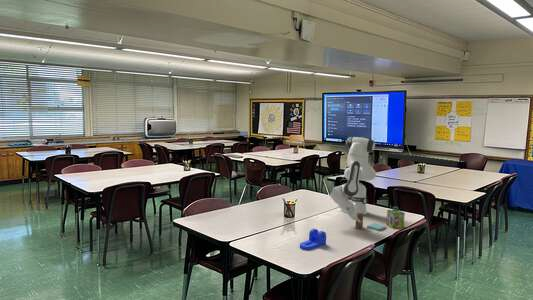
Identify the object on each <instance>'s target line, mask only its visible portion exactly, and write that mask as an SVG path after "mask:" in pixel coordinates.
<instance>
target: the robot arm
mask: <svg viewBox="0 0 533 300" xmlns="http://www.w3.org/2000/svg"><path fill="white" fill-rule="evenodd" d="M345 146H346V148H347V149H348V150H349V151H348V154H347V156H346V157H347V159H346V164H347V166H348V167H346V168H345V169H344V171H343V173H344V174H343V175H344V177H345V179H346V180H347V182H346V183H343V184H342V185H338V186H334V187H333V188H331V189H330V191H329V197H330V198H331V199H332V201H333V202H334V203H335V204H337V205H338V207H339V208H340V212H343V213H346V214H347V215H348V217H350V219H352V220H353V221H355V222H356V221H358V222H359V223H360V222H361V220H360V219H359V218H358V217H357V212H359V213H363V216H364V215H367V214H368V211H367V188H366V186H365V185H364V184H362V183H360V181H373V180H375V178H376V176H377V172H376V170H375V168H374V167H372V166H371V165H370V163H369V154H370V153H372V152H373V151H374V149H375V147H376V143H375V141H374V139H371V138H366V137H361V136H360V137H359V136H348V137H347V139H346V142H345Z"/></svg>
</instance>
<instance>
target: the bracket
mask: <svg viewBox="0 0 533 300" xmlns="http://www.w3.org/2000/svg"><path fill="white" fill-rule="evenodd" d="M325 245H327V233H326V232H325V231H323V230H318V229H316V228H311V229H310V231H309V234H308V240H305V241H302V242H300V243H299V248H300V249H301V250H303V251H311V250H314V249H316V248H317V249H318V248H319V247H322V246H325Z"/></svg>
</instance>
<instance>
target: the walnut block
mask: <svg viewBox="0 0 533 300" xmlns="http://www.w3.org/2000/svg"><path fill="white" fill-rule="evenodd" d="M357 217H358V218H359V219H360V220H361V222H360V223H359V222H358V221H356V220H355V229H356V230H363V227H364V226H363V225H364V215H363V213H359V212H357Z"/></svg>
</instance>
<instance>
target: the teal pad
mask: <svg viewBox="0 0 533 300" xmlns="http://www.w3.org/2000/svg"><path fill="white" fill-rule="evenodd" d="M366 228H367V229H370V230H374V231H377V232H381V231H382V230H384V229H387V225H383V224H379V223H376V222H373V223H371V224H368V225H366Z"/></svg>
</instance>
